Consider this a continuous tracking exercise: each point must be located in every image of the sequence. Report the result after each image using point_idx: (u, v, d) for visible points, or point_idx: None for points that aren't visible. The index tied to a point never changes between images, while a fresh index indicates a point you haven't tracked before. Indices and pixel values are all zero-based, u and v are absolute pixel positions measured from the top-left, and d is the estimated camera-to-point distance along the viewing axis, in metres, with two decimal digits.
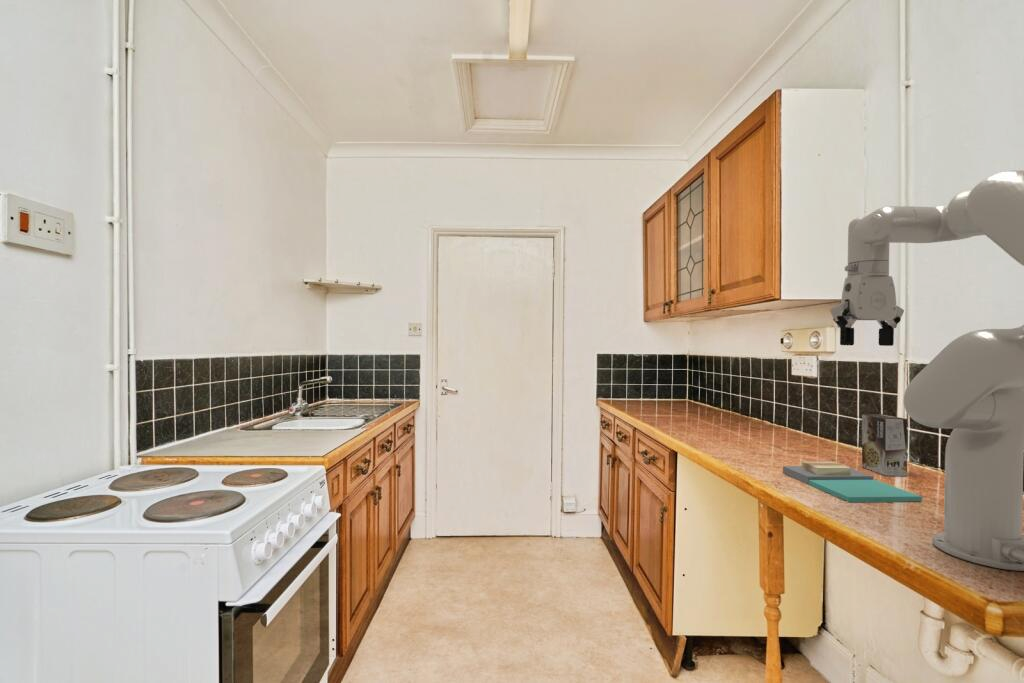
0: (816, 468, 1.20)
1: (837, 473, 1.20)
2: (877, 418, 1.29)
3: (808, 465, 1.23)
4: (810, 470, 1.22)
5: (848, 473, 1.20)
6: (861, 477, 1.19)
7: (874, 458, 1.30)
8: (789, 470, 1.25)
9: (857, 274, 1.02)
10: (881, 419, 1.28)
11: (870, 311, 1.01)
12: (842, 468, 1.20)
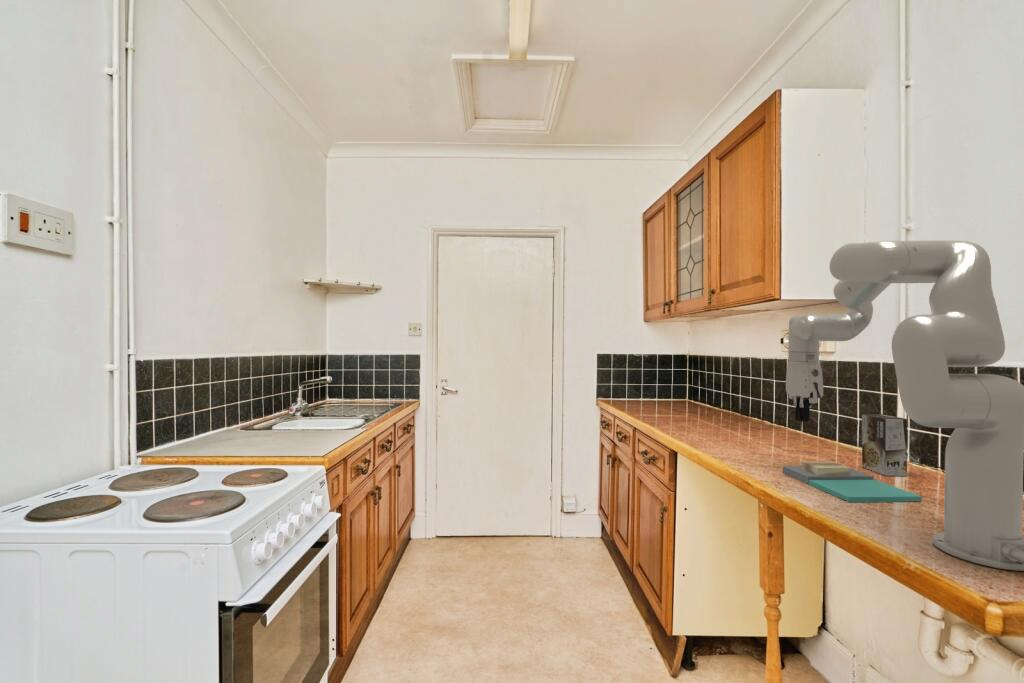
0: (816, 468, 1.20)
1: (837, 473, 1.20)
2: (877, 418, 1.29)
3: (808, 465, 1.23)
4: (810, 470, 1.22)
5: (848, 473, 1.20)
6: (861, 477, 1.19)
7: (874, 458, 1.30)
8: (789, 470, 1.25)
9: (816, 362, 1.28)
10: (881, 419, 1.28)
11: None
12: (842, 468, 1.20)
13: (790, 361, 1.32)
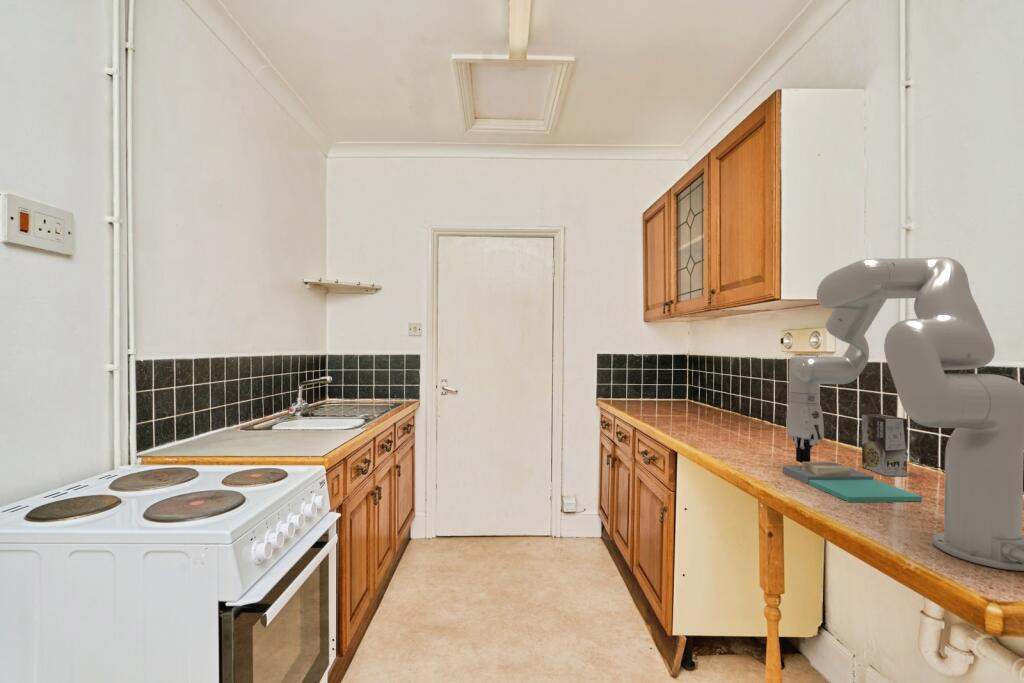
0: (816, 468, 1.20)
1: (837, 473, 1.20)
2: (877, 418, 1.29)
3: (808, 465, 1.23)
4: (810, 470, 1.22)
5: (848, 473, 1.20)
6: (861, 477, 1.19)
7: (874, 458, 1.30)
8: (789, 470, 1.25)
9: (816, 404, 1.28)
10: (881, 419, 1.28)
11: None
12: (842, 468, 1.20)
13: (790, 402, 1.31)
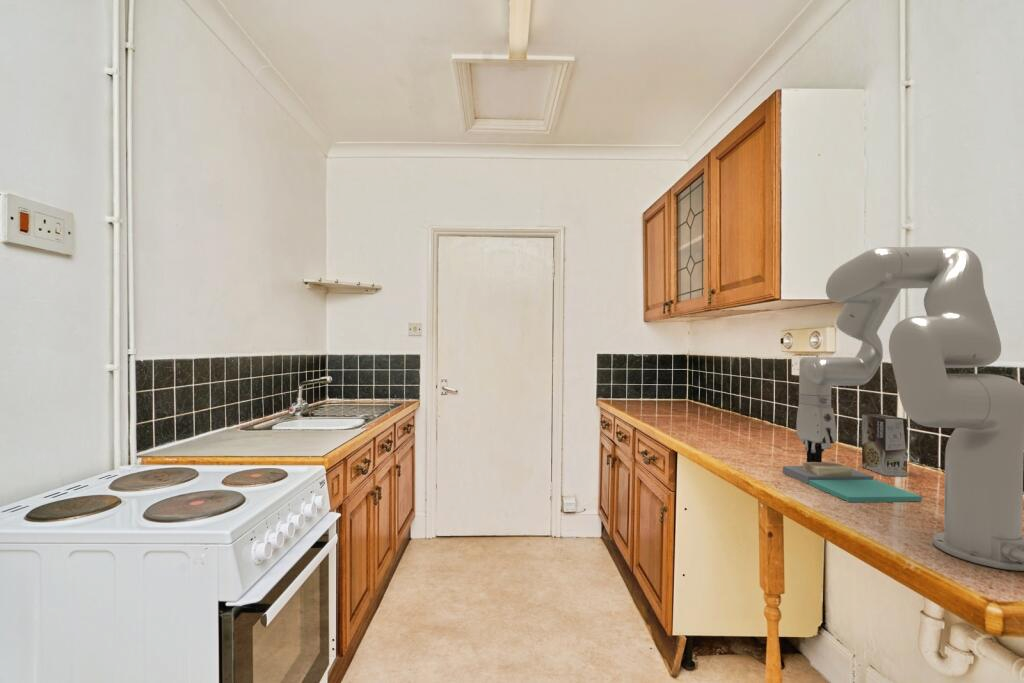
0: (817, 468, 1.20)
1: (838, 473, 1.19)
2: (877, 418, 1.29)
3: (809, 465, 1.23)
4: (811, 470, 1.22)
5: (849, 473, 1.19)
6: (861, 477, 1.19)
7: (874, 458, 1.30)
8: (789, 470, 1.25)
9: (828, 406, 1.23)
10: (881, 419, 1.28)
11: None
12: (843, 468, 1.19)
13: (801, 404, 1.27)
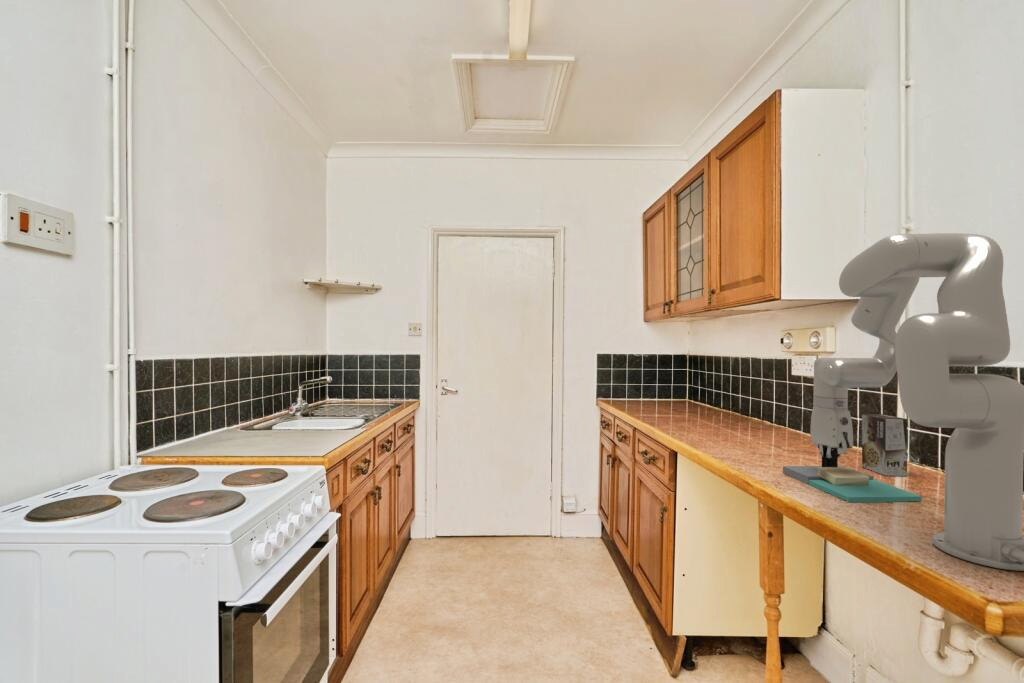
0: (833, 478, 1.14)
1: (855, 483, 1.14)
2: (877, 418, 1.29)
3: (824, 472, 1.17)
4: (826, 478, 1.16)
5: (866, 483, 1.14)
6: None
7: (874, 458, 1.30)
8: (789, 470, 1.25)
9: (844, 409, 1.18)
10: (881, 419, 1.28)
11: None
12: (861, 478, 1.14)
13: (816, 407, 1.21)
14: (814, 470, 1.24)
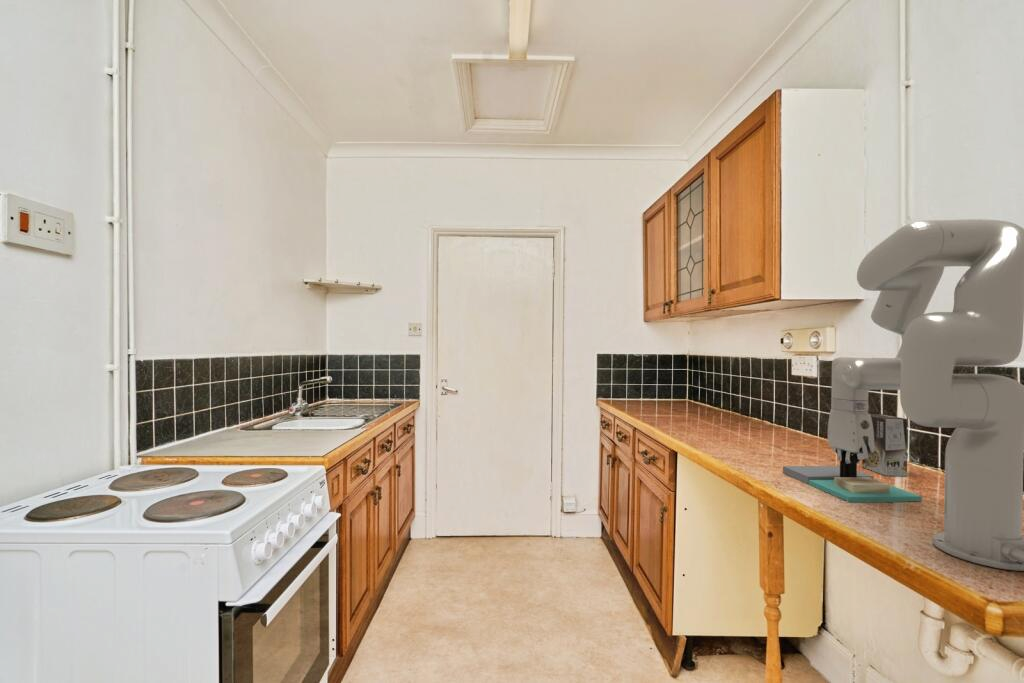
0: (851, 485, 1.08)
1: (875, 491, 1.08)
2: (877, 418, 1.29)
3: (841, 481, 1.11)
4: (844, 487, 1.10)
5: (887, 491, 1.08)
6: None
7: (874, 458, 1.30)
8: (789, 470, 1.25)
9: (865, 412, 1.11)
10: (881, 419, 1.28)
11: None
12: (880, 485, 1.08)
13: (834, 409, 1.15)
14: (814, 470, 1.24)
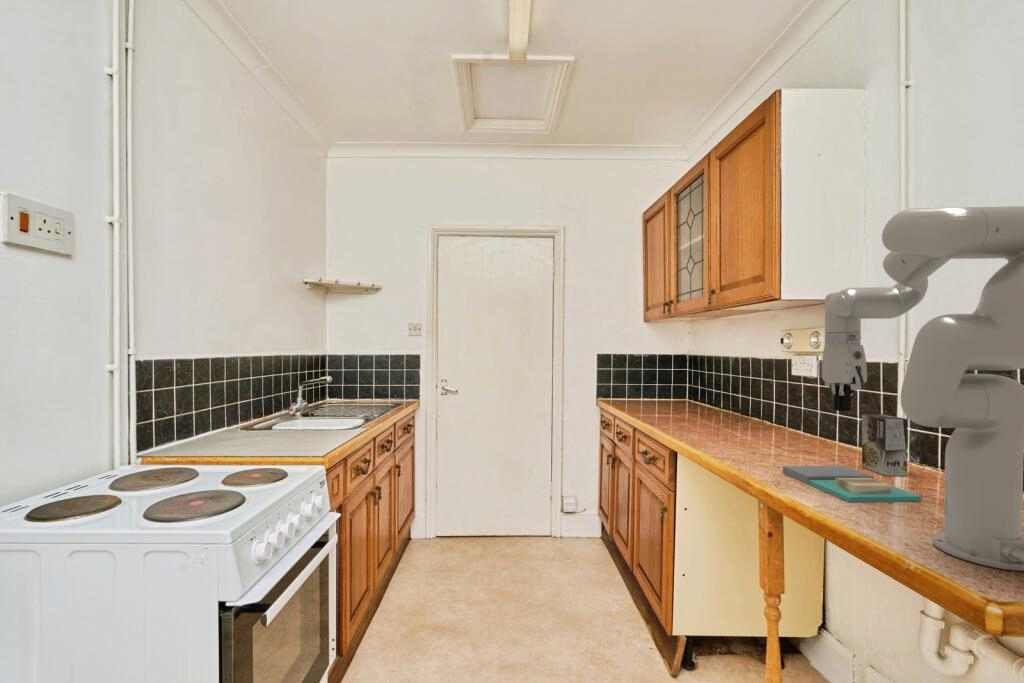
0: (853, 486, 1.08)
1: (876, 491, 1.07)
2: (877, 418, 1.29)
3: (843, 482, 1.11)
4: (845, 488, 1.10)
5: (888, 491, 1.08)
6: (861, 477, 1.19)
7: (874, 458, 1.30)
8: (789, 470, 1.25)
9: (858, 343, 1.13)
10: (881, 419, 1.28)
11: None
12: (882, 486, 1.08)
13: (827, 343, 1.17)
14: (814, 470, 1.24)
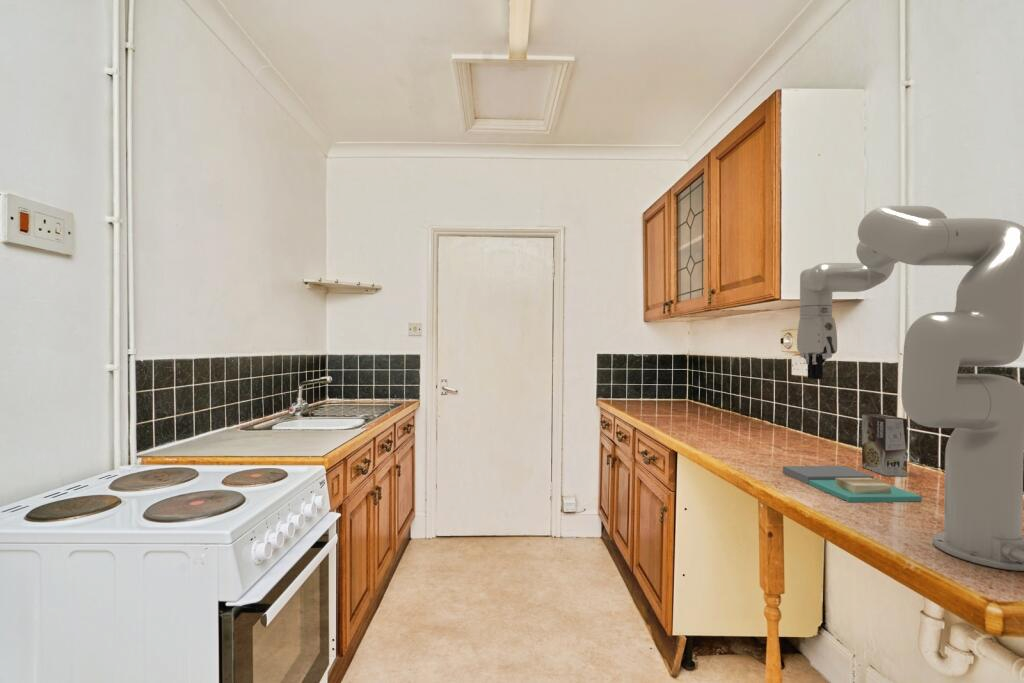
0: (853, 486, 1.08)
1: (876, 491, 1.07)
2: (877, 418, 1.29)
3: (843, 482, 1.11)
4: (845, 488, 1.10)
5: (888, 491, 1.08)
6: (861, 477, 1.19)
7: (874, 458, 1.30)
8: (789, 470, 1.25)
9: (829, 316, 1.22)
10: (881, 419, 1.28)
11: None
12: (882, 486, 1.08)
13: (802, 316, 1.26)
14: (814, 470, 1.24)
